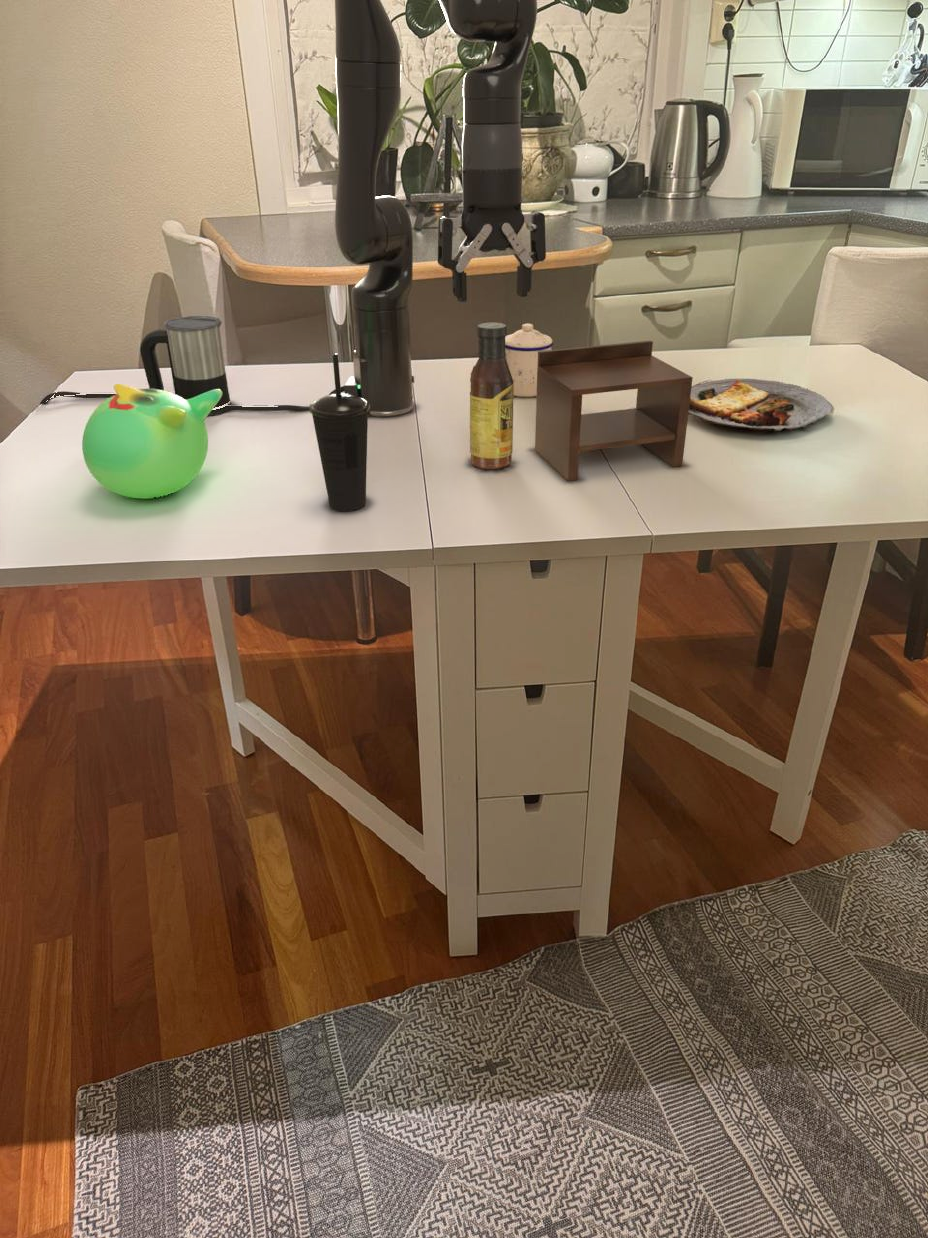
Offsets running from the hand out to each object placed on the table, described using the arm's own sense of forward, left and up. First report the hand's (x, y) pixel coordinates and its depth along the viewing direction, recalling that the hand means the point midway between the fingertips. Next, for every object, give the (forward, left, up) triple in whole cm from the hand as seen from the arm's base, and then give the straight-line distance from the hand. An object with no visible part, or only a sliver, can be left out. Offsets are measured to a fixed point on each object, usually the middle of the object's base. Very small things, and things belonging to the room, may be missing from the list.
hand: (492, 298), depth 122 cm
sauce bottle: (0, 0, -24) cm, 24 cm away
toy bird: (-47, +5, -24) cm, 53 cm away
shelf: (+17, -4, -23) cm, 29 cm away
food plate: (+48, +7, -24) cm, 54 cm away
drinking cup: (-23, -8, -24) cm, 34 cm away
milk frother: (-41, +37, -24) cm, 60 cm away
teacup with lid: (+16, +32, -24) cm, 43 cm away
